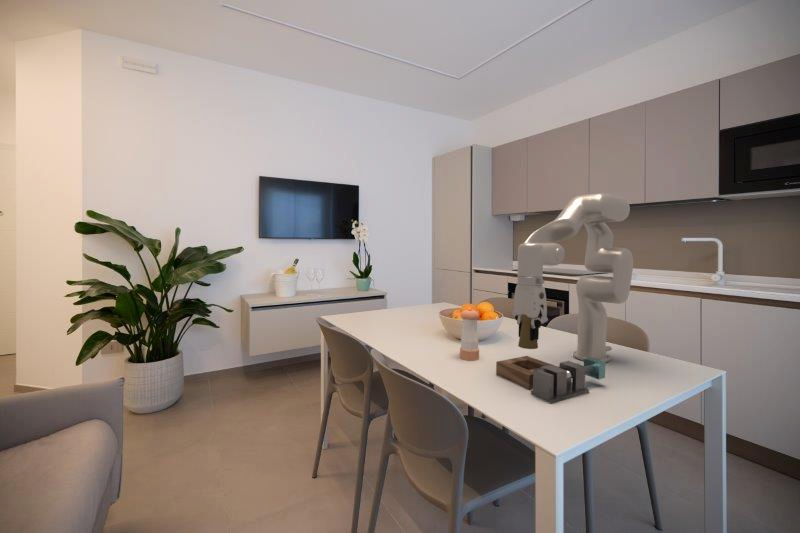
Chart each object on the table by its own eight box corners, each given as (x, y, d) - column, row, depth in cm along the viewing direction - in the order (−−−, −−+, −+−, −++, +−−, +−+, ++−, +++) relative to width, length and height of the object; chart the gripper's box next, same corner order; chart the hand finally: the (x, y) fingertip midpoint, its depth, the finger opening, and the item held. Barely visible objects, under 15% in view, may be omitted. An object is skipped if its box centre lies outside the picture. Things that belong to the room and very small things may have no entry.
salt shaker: (483, 358, 136) (483, 308, 135) (469, 361, 132) (470, 310, 131) (469, 353, 142) (469, 306, 141) (455, 356, 138) (456, 307, 137)
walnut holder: (526, 368, 125) (526, 355, 125) (560, 381, 113) (561, 367, 112) (496, 374, 119) (496, 361, 118) (529, 389, 106) (529, 375, 106)
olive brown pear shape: (539, 349, 111) (540, 314, 111) (519, 348, 113) (520, 313, 112) (536, 344, 117) (537, 311, 117) (517, 343, 119) (517, 310, 118)
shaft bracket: (567, 384, 111) (568, 359, 110) (588, 392, 104) (589, 366, 104) (530, 394, 103) (531, 367, 103) (551, 403, 97) (551, 375, 96)
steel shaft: (589, 372, 114) (590, 357, 113) (605, 377, 109) (605, 361, 109) (553, 382, 106) (553, 365, 106) (567, 388, 101) (568, 370, 101)
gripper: (560, 283, 108) (558, 343, 109) (518, 279, 123) (517, 331, 124) (542, 284, 105) (541, 346, 106) (502, 280, 120) (500, 334, 121)
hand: (528, 337), depth 115 cm, fingers closed on olive brown pear shape, 4 cm apart
